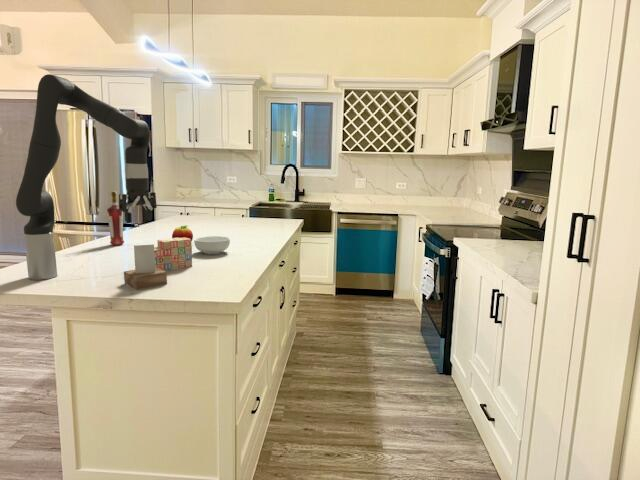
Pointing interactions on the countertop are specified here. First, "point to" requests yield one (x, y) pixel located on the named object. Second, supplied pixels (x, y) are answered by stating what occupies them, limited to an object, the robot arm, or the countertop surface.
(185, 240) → the stack of blocks
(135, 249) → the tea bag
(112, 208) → the liquor
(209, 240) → the cereal bowl
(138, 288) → the walnut block
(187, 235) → the fruit
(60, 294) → the countertop surface
